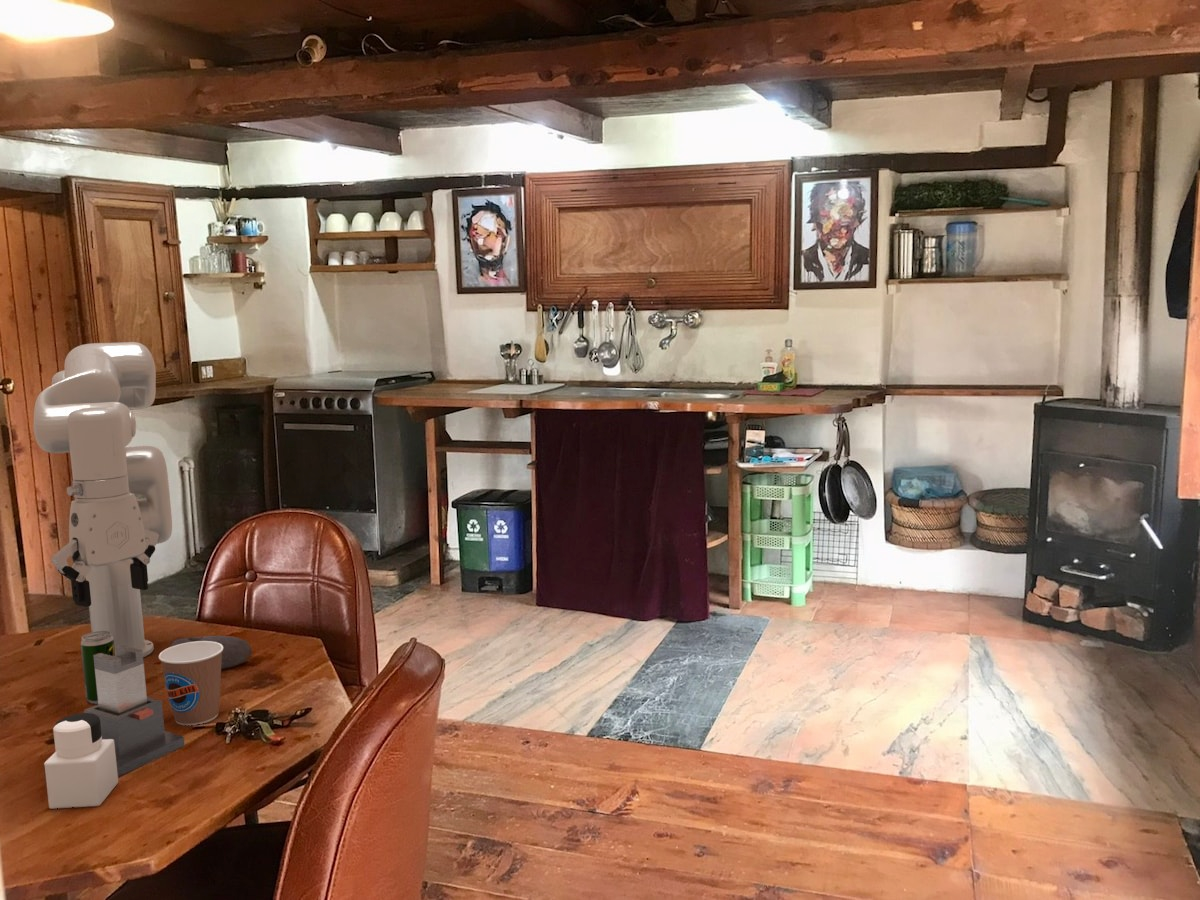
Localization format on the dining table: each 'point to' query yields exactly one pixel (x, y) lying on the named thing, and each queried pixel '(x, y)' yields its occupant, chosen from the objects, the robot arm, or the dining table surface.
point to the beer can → (90, 647)
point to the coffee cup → (193, 680)
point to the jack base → (137, 735)
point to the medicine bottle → (80, 763)
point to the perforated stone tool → (225, 648)
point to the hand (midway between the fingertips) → (112, 596)
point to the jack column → (120, 680)
